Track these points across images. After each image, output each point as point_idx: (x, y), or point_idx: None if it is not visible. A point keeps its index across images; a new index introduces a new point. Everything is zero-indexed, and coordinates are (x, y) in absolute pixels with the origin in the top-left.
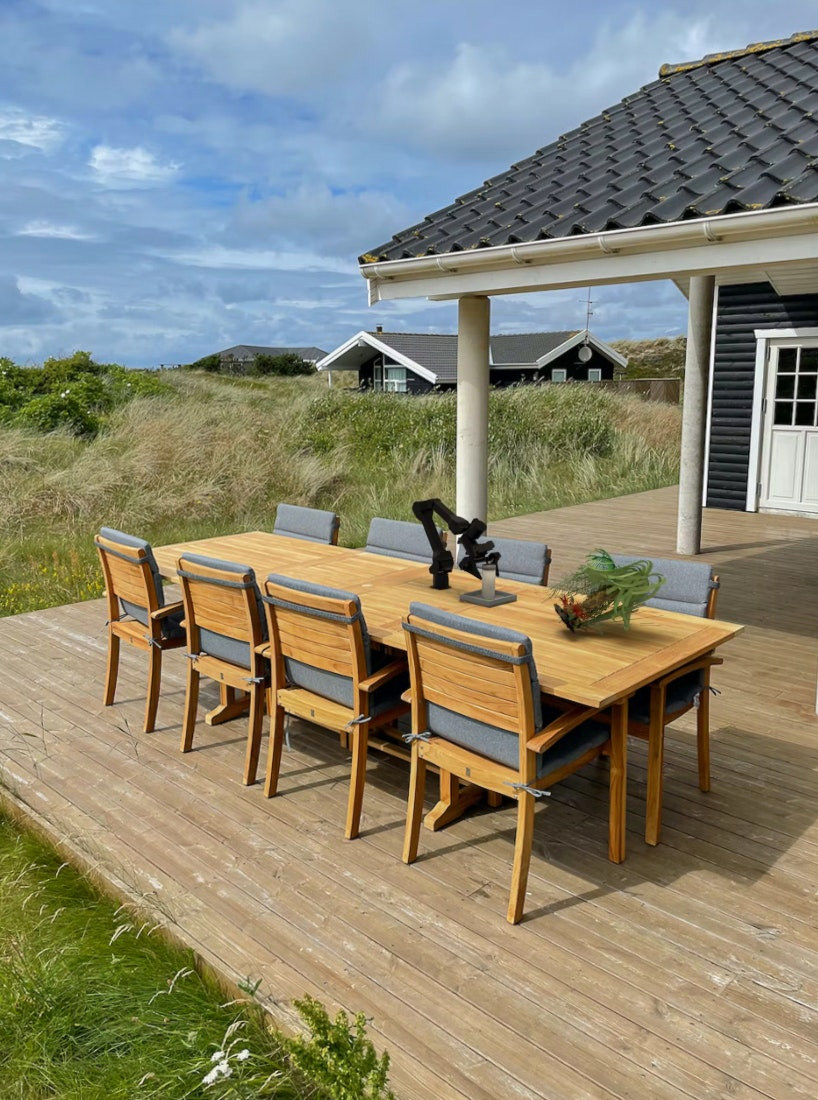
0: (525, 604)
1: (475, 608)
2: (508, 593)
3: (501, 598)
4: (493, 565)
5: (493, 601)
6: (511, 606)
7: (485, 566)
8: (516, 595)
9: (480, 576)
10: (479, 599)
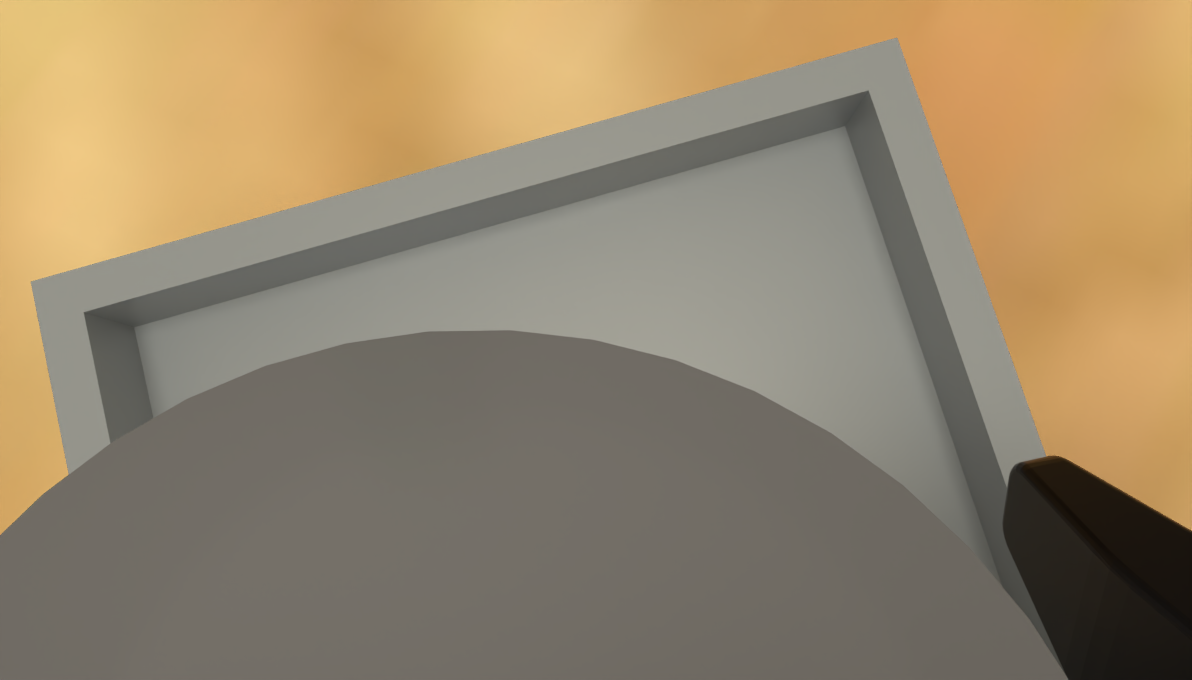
0: (139, 13)
1: (1115, 169)
2: None
3: (522, 145)
4: (155, 654)
5: (766, 82)
6: (442, 4)
7: (1050, 669)
8: (54, 281)
9: (1149, 513)
10: (990, 306)
